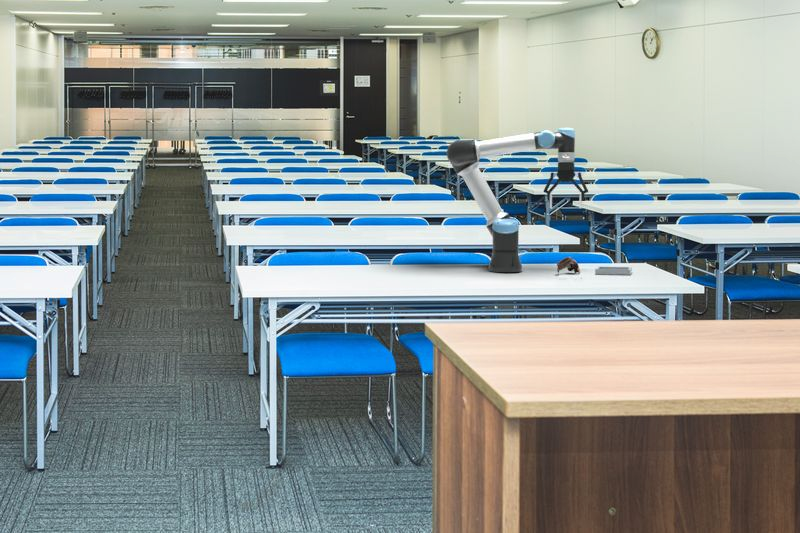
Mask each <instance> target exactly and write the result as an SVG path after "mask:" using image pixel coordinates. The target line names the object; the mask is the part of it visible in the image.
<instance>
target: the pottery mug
mask: <svg viewBox="0 0 800 533" xmlns="http://www.w3.org/2000/svg"><path fill="white" fill-rule="evenodd" d="M556 267H557V268H556V269H557V270H556V271H557V274H560V271H561V270H564V269H566V268H567V270H568V272H573V273H574V274H577V273H578V274H580V273H581V271H580V266H579V264H578V262H577V261H576V260H575V259H572V257H571V256H568V257H565V258H562V259H561V260H560V261H558V262H557V264H556Z"/></svg>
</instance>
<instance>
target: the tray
mask: <svg viewBox="0 0 800 533" xmlns="http://www.w3.org/2000/svg"><path fill="white" fill-rule="evenodd" d="M632 270H633V266H632V267H631V266H597V267H596V268H595V269H594V272H595V273H594V275H597V276H631V275H632V273H633V271H632Z"/></svg>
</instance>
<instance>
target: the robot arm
mask: <svg viewBox="0 0 800 533" xmlns="http://www.w3.org/2000/svg"><path fill="white" fill-rule="evenodd" d="M575 134H576V133H575V129H574V128H572V127H560V128H558V129H557V132H552V131H550V130H543V131H536V132H531V133H525V134H524V133H523V134H518V135H512V136H511V135H510V136H504V137H499V138H491V139H486V140H485V139H484V140H477V139H472V140H470V139H469V140H460V139H459V140H455V141H453V142H452V143H450V144H449V145H448V147H447V149H446V157H447V160H448V161H449V164H451V166H452V168H453V169H454V171H455V173H456V175H457V176H461V177H462V179H463V181H464V182H465V184H466V186H467V187H468V188H467V189H468V190H469V191H470V193H471V196H472V197H473V199H474V201H475V202H476V204H477V206H478V207H479V210H480V211H481V213H482V214H483V216H484V218H485V220H486V225H485V226H486V228H487V230H488V232H489V233H490V235H491V237H492V254H491V258H490V261H489V264H488V272H491V273H493V272H494V273H520V272H521V273H522V272H523V265H522V261H521V259H520V256H519V229H520V226H519V220H517V219H512V218H511V216H510V215H509V213H508V212H506V211H505V212H504V211H503V209H502V207H501V206H500V204H499V202H498V200H497V198H496V197H495V195H494V192H493V191H492V189H491V188H490V186H489V184H488V182H487V180H486V179H485V177H484V175H483V173H482V171H481V170H480V168H479V164H480V159H483V158H490V157H496V156H503V155H508V154H515V153H521V152H522V153H523V152H528V151H535V150H553V149H554V150H557V161H558V163H557V172H553V171H552V172H550V175H549V176H550V177H549V179H548V181H547V183H546V185H545V186H544V189H543V193H545V194H547V196H546V197H547V200H546V201H548V202H549V209H553V194H552V192H553V191H554V190H555V189H556V187H557V186H558V185H559V184H560V183H570V182H571V183H572V184H573V185H574V186H575V187H576V189H577V190H578V191H579V192H580V194H579V206H578V207H579V209H583V208H582V207H583V205H582V204H583V202H584V201H585V194H586V193H587V194H588V193H589V189H588V187H587V186H586V184H585V181H584V179H583V177H582V172H576V171H575V155H576V154H575V148H576V147H575V145H576V144H575V143H576V141H575V140H576V137H575V136H576V135H575ZM575 176H576V178H578V179H579V182H580V185H582V188H581V186H580V185H579V184H578V183H577V181H576V180H575V179H574V178H575ZM556 177H557V178H558V179H557V180H556V182H554V183H553V185H552V186H551V184H552V182H553V180H554V178H556ZM550 186H551V187H550ZM549 187H550V188H549ZM583 189H584V190H583Z"/></svg>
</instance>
